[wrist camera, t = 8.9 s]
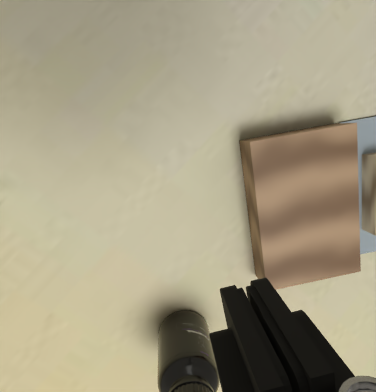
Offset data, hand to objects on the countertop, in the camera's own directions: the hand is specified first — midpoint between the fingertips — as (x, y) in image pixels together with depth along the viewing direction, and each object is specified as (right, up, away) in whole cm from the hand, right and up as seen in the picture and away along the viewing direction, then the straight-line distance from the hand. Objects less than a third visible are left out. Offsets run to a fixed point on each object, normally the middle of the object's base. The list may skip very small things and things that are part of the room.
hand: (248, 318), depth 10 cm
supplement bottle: (-3, -14, +29) cm, 32 cm away
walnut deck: (+11, +3, +26) cm, 29 cm away
